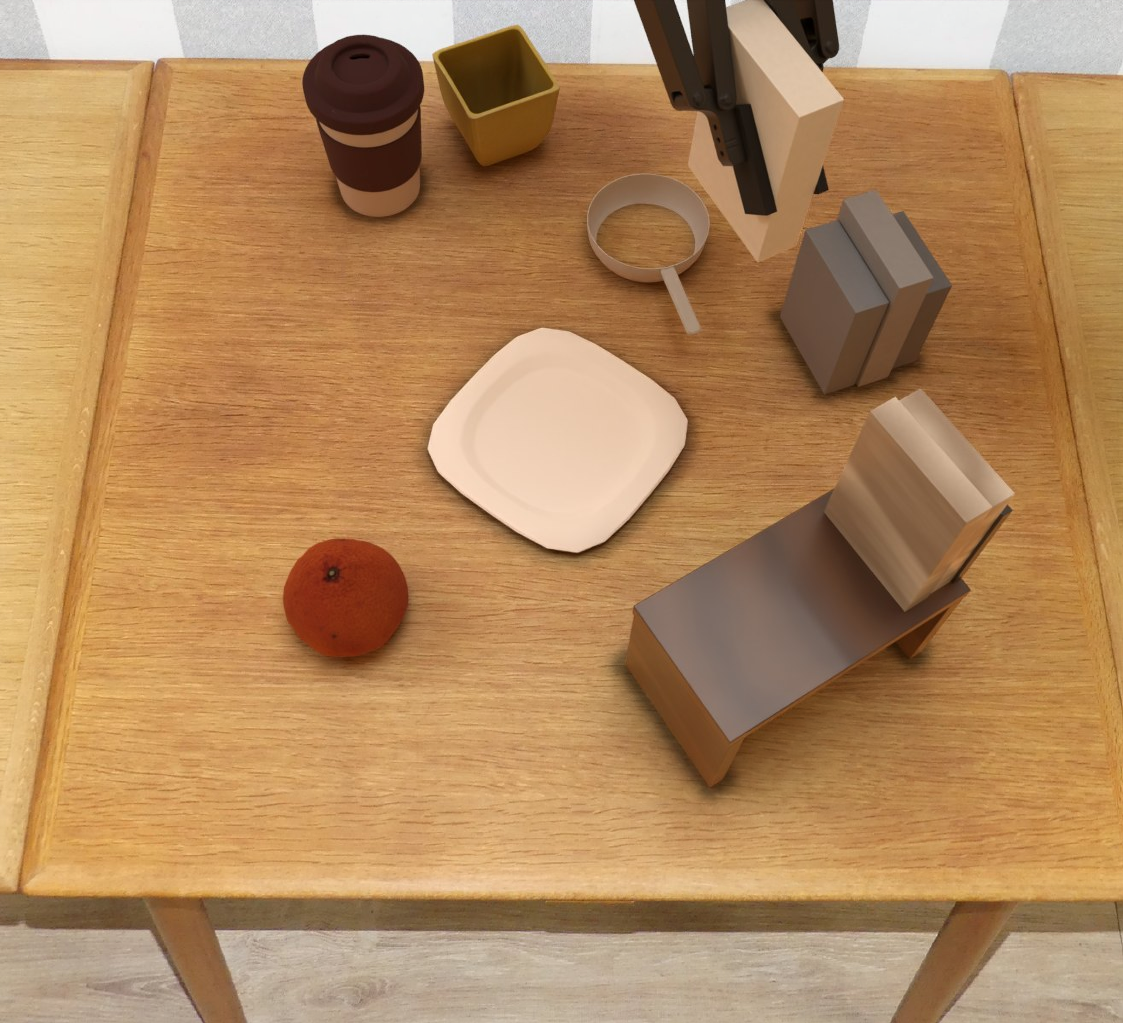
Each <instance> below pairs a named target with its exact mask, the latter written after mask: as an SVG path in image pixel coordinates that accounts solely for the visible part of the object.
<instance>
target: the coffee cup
mask: <svg viewBox="0 0 1123 1023" xmlns="http://www.w3.org/2000/svg"><path fill="white" fill-rule="evenodd" d="M424 80H425V79H424V71H423V69H422V65H421V63H420V61H419V59H418V58H417V57H416V55H415V54H413V52H412V51H410V50H409V49H408V48H407V47H405V45H402V44H401V43H398V42H396V41H394V40H392V39H388V38H384V37H379V36H377V35H372V34H354V35H348V36H345V37H342V38H340V39H338V40H336V41H334V42H332V43H330V44H328V45H326V46H324V48H322V49H321V50H319V51H318V52H317V53H315V55H314V56H313V57H312V58H311V59H310V60H309V62H308V63H307V65H306V66H305V69H304V71H303V73H302V81H301V82H302V84H301V85H302V91H303V96H304V100H305V101H304V102H305V104H306V107H307V109H308V110H309V112H310V114H311V115H312V116H313V117H314V118H315V121H316V125H317V129H318V132H319V136H320V138H321V141H322V144H323V148H324V152H325V154H326V157H327V160H328V163H329V166H330V169H331V172H332V173H333V175H334V176H335V178H336V182H337V185H338V189H339V192H340V194H341V198H342V199H343V201H344V202H345V204H346V205H347V206H348V207H349V208H350V209H351V210H353V211H355V212H356V213H358V214H360V215H363V216H368V217H375V218H383V217H390V216H393V215H397V214H399V213H402V212H403V211H405V210H406V209H408V208H409V207H410V206H411V205H412V204H413V203H414V202H415V201H416V199H417V197H418V195H419V193H420V189H421V172H420V171H421V166H420V165H421V162H422V157H423V156H422V155H423V153H422V152H423V151H422V150H423V149H422V109H421V105H422V102H423V99H424V96H425V81H424Z"/></svg>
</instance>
